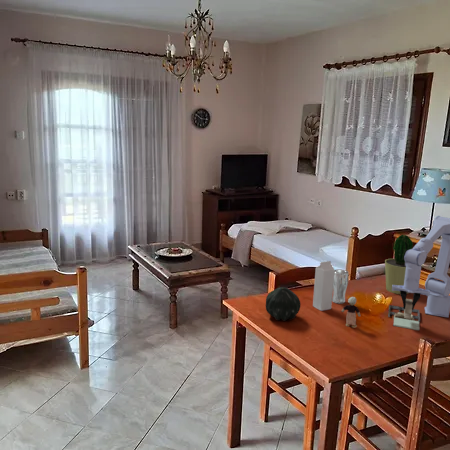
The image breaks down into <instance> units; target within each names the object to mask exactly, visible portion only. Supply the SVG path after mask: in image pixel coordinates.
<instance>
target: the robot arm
mask: <svg viewBox="0 0 450 450" xmlns="http://www.w3.org/2000/svg"><path fill="white" fill-rule="evenodd" d="M440 237H441V238H442V239H441V244H440V248H439V252H438V256H437V261H436V263H435V264H436V265H435V267H434V268H435V269H434V272H431V273H429V274H428V275H427V277H426V280H425V282H424V288H421V287H420V280H421V274H422V273H421V272H422V265H424V264H425V263H426V259H427V257H428V256H427V255H428V254H429V253H430V252H431V250H432V249H433V248H434V242H436V241H437V240H438V239H439V238H440ZM404 260H405V266H406V271H405V279H404V286H402V285H392V291H400V294H399V295H400V297H401V299H402V300H401V301H402V305H403V306H402V307H403V309H405V303H406V299H407V295H408V294H413V296H412V310H413V309H415V306H416V305H417V302H418V301H419V300H420V298H421V295H422V296H426V297H427V300H426V306H424V314H426V315H430V316H436V317H444V318H449V315H450V276H449V274H448V271H449V267H450V217H445V216H441V215H437V216H435V217H434V219H433V221H432V227H431V229H430V230H429V232H428V234H427V235H426V236H425V237H422V238H420V239H419V241H418V242H416V244H415V245H413V246H412V249H410V250H407V252H406V253H405V256H404ZM407 292H408V294H407Z"/></svg>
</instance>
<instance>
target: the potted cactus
mask: <svg viewBox="0 0 450 450" xmlns="http://www.w3.org/2000/svg"><path fill="white" fill-rule="evenodd" d="M414 243H415V242H413V240H412V238H410V235H407V234H400V235H398V237H397V238H395V240H394V242H393V247H392V248H393V257H394V258H388V259H385V260H384V265H385V269H384V271H385V289H386V291H387V292H389V293H392V294H395V295H396V294H397V295H400V291H392V285H402V286H404V279H405V271H406V266H405V260H404V256H405V253H406V252H407V250H410V249H413V247H414ZM408 294H409V293H408V292H407V294H406V295H408Z"/></svg>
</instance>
